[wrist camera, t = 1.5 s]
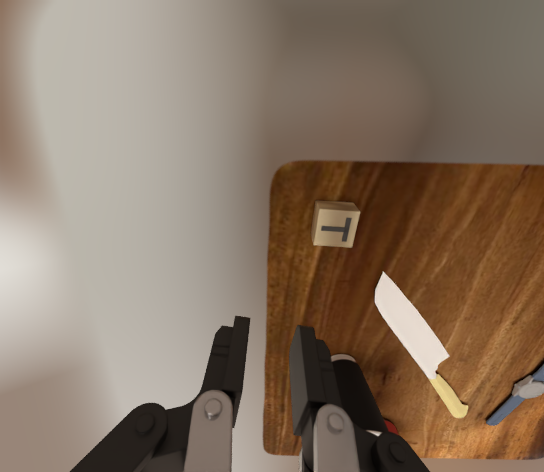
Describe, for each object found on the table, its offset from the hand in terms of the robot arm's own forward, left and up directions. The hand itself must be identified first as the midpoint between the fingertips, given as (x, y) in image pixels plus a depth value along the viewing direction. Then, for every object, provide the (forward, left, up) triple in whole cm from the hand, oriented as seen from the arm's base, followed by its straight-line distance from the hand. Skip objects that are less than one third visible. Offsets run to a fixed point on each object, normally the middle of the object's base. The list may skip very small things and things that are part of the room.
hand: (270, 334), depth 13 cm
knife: (+31, +5, -17) cm, 36 cm away
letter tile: (+5, +4, -17) cm, 18 cm away
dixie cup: (+26, -6, -17) cm, 32 cm away
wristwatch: (+46, +15, -17) cm, 51 cm away
